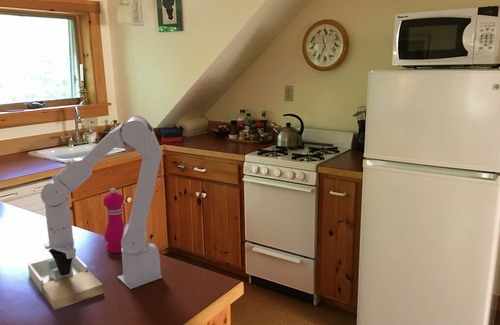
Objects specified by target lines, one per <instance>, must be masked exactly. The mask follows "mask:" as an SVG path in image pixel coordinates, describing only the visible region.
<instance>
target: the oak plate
mask: <svg viewBox="0 0 500 325" xmlns="http://www.w3.org/2000/svg"><path fill="white" fill-rule="evenodd" d="M103 285H104V284H103V283H102V282H101V281H100V280H99V279H98V278H97V277H95V275H94V274H93V273H92V272H91V271H90V270H89V269H88V270H86V271H83V272H80V273H77V274H73V275H70V276H67V277H64V278H61V279H57V280H54V281H51V282H48V283H44V284H41V288H42V292H41V294H42V295H43V297H44V298H45V300H46V301H47V302H48V303H49V305H50V306H51V308H52V309H53V310H54V311H56V310H59V309H62V308H65V307H68V306H71V305H73V304H74V305H75V304H76V303H79V302H82V301H86V300H88V299H91V298H93V297H96V296H99V295H103V293H104V287H103Z"/></svg>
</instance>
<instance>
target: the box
mask: <svg viewBox="0 0 500 325" xmlns="http://www.w3.org/2000/svg"><path fill="white" fill-rule="evenodd" d="M51 259H54V258H53V256H52V257H49V258H46V259H42V260H39V261H35V262H30V263H28V264H27V267H28V275H29V277H30V279H31V280H32V281H33V283H34V284H35V285H36V287H37V289H38V290H39V292H41V293H42V288H41V284H44V283H48V282H51V281H54V280H55V279H53V278H50V277H49V274H48V269H47V263H46V261H47V260H51ZM71 266H72V270H73V274H77V273H80V272H83V271H86V270H88V271H89V266H87V264H85V263H84V261H82V260H81V259H80V258H79V257H78V255H76V257H73V259H72V263H71Z"/></svg>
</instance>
